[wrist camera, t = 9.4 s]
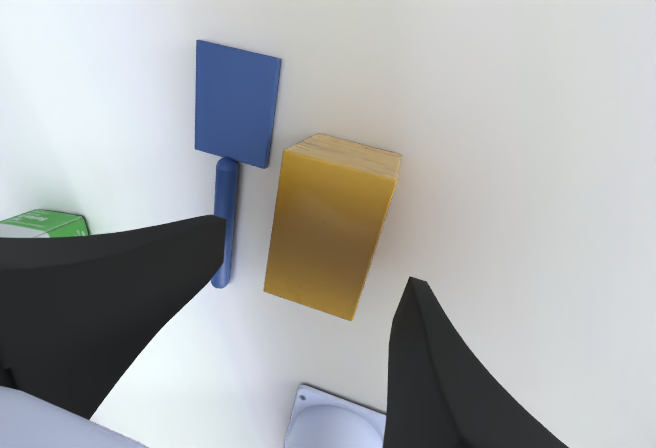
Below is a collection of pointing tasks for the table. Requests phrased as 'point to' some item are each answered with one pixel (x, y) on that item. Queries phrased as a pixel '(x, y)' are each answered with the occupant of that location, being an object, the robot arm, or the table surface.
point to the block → (328, 221)
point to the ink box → (43, 225)
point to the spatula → (233, 122)
